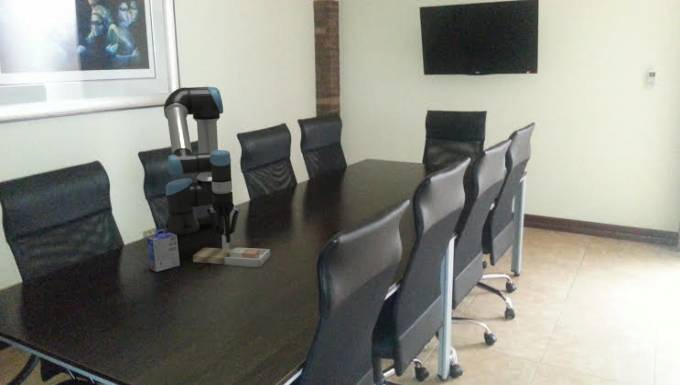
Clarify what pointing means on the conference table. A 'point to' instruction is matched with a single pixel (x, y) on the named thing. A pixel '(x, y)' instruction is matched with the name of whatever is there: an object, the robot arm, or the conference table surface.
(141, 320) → the conference table surface
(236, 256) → the tile
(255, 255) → the tile
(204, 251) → the board
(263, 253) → the tray
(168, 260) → the ink cartridge box
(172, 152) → the robot arm
